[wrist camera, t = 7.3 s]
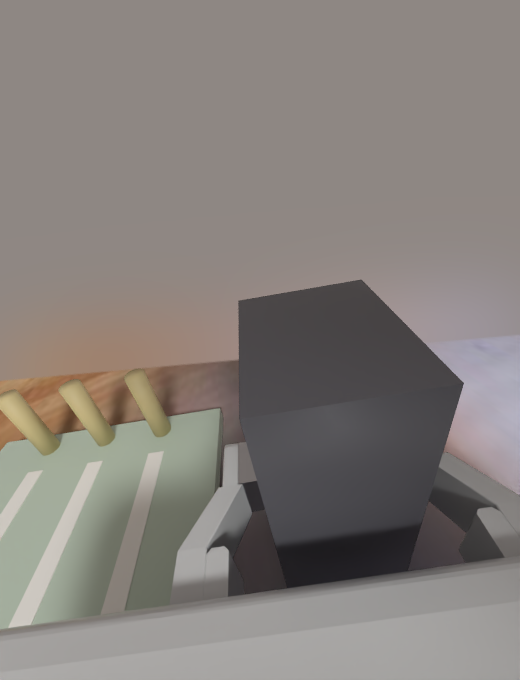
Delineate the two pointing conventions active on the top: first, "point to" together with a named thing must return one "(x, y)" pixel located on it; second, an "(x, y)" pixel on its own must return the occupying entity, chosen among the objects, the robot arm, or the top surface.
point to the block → (341, 428)
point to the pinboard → (100, 505)
